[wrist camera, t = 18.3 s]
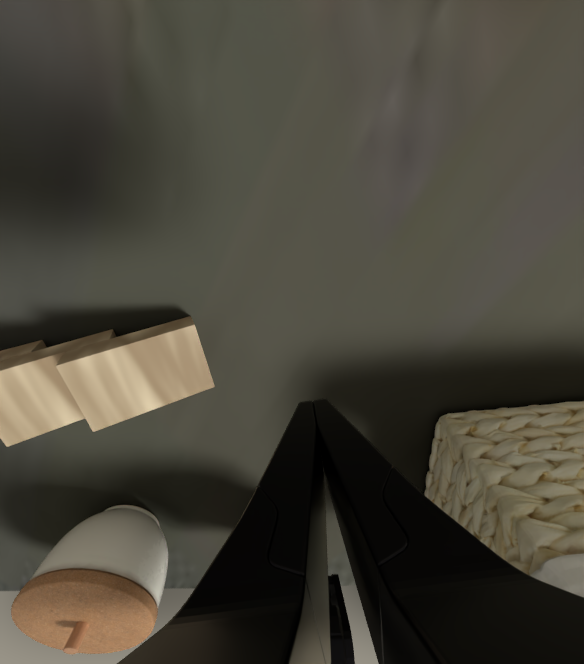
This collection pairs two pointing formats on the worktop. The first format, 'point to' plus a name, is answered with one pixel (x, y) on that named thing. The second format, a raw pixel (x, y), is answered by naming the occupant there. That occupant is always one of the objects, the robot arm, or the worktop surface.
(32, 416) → the domino
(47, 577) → the lidded jar
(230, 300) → the worktop surface
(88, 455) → the worktop surface
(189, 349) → the domino
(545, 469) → the storage basket
